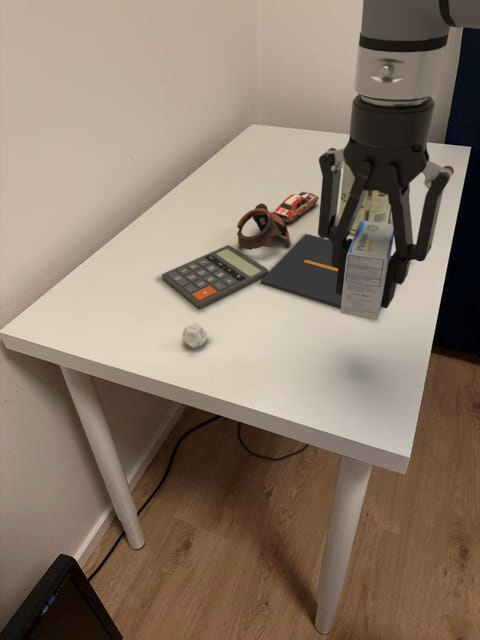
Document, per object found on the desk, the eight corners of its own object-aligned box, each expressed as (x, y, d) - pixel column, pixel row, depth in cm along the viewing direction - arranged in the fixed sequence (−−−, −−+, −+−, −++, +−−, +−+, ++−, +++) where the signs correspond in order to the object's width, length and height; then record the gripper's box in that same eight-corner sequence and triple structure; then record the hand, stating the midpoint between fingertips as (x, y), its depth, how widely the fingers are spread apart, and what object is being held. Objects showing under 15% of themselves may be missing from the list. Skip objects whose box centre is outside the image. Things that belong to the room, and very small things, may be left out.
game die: (190, 333, 74) (188, 317, 72) (211, 339, 72) (210, 324, 71) (178, 347, 71) (176, 332, 69) (200, 354, 70) (198, 338, 68)
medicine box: (377, 321, 56) (389, 258, 51) (339, 314, 58) (346, 251, 52) (385, 284, 62) (397, 223, 57) (350, 278, 63) (358, 218, 58)
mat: (407, 262, 86) (408, 259, 86) (373, 318, 75) (374, 315, 74) (305, 236, 95) (305, 233, 94) (260, 283, 83) (260, 280, 83)
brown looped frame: (298, 256, 90) (281, 229, 84) (253, 276, 93) (233, 251, 87) (286, 212, 97) (269, 184, 91) (245, 232, 100) (226, 206, 94)
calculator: (160, 273, 85) (228, 243, 92) (161, 278, 85) (228, 248, 92) (198, 304, 77) (269, 269, 84) (199, 308, 78) (269, 273, 85)
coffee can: (354, 207, 103) (362, 140, 94) (398, 221, 98) (411, 152, 89) (327, 225, 98) (333, 157, 89) (373, 241, 92) (384, 170, 83)
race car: (269, 225, 102) (267, 207, 98) (304, 197, 107) (303, 178, 104) (288, 233, 99) (286, 214, 96) (322, 204, 104) (322, 185, 101)
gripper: (289, 96, 47) (285, 291, 62) (490, 118, 39) (431, 335, 54) (320, 77, 52) (310, 262, 66) (505, 94, 44) (447, 299, 59)
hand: (364, 294), depth 60 cm, fingers closed on medicine box, 5 cm apart
